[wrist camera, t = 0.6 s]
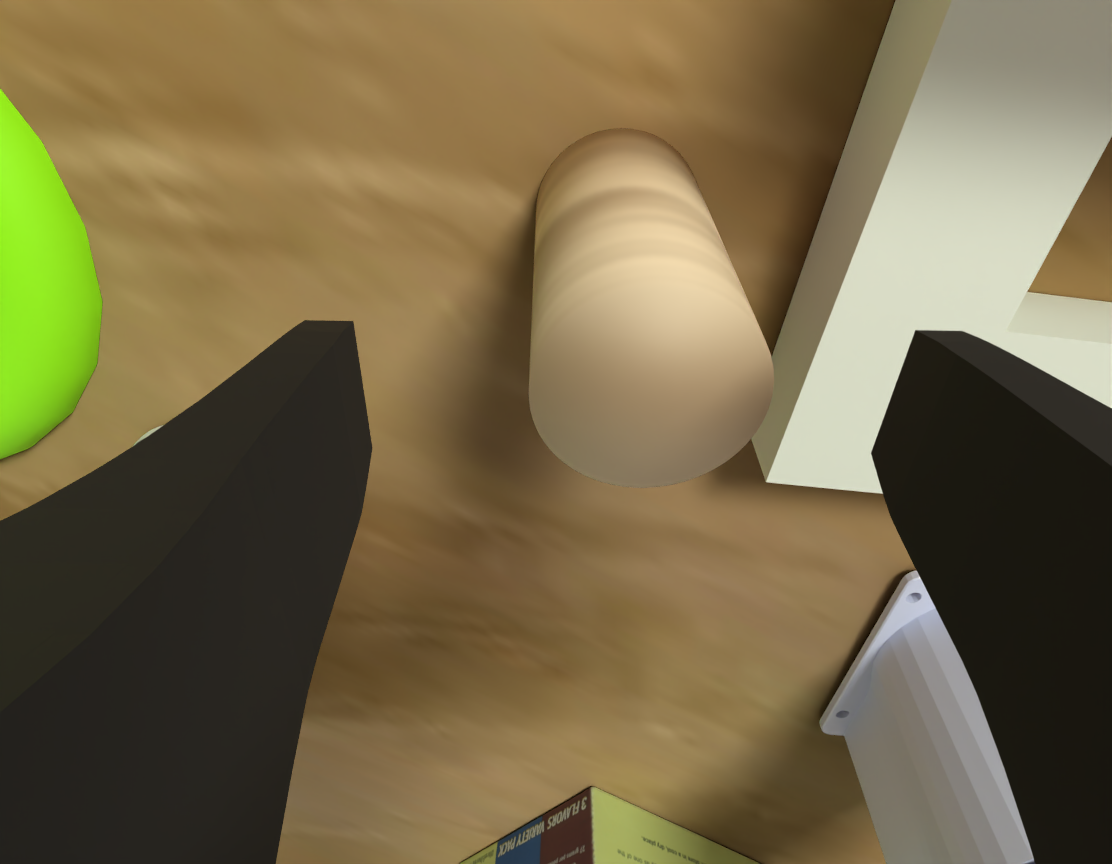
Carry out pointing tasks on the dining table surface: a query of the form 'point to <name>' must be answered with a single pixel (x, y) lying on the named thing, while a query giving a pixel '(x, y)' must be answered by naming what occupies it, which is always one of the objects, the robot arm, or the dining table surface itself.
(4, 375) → the wineglass
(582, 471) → the peg
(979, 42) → the socket board
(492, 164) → the dining table surface
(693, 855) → the protein box
